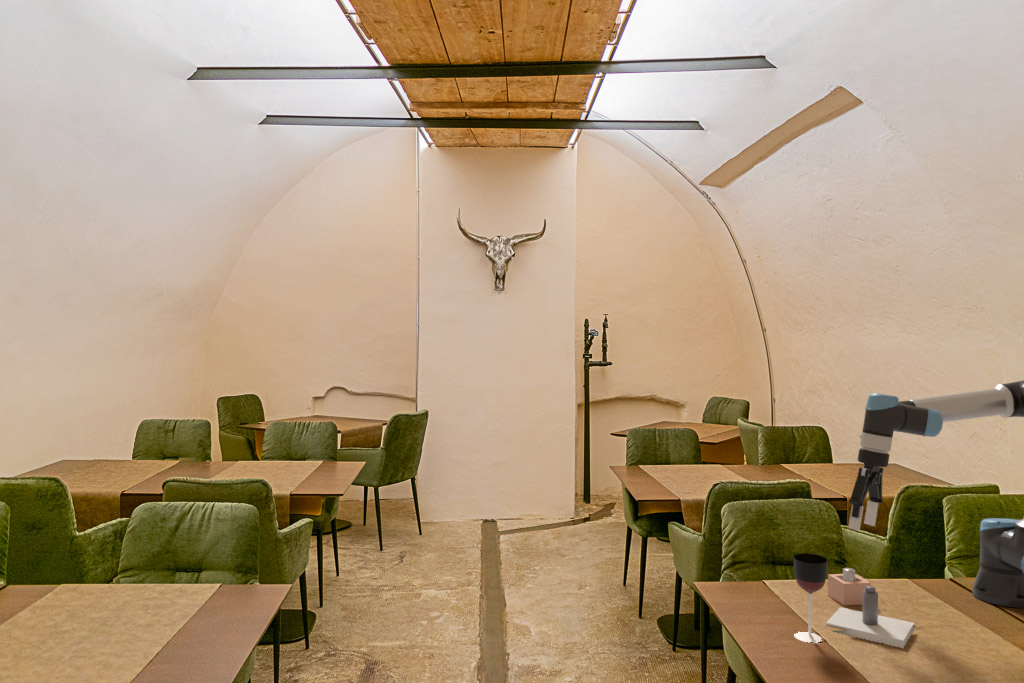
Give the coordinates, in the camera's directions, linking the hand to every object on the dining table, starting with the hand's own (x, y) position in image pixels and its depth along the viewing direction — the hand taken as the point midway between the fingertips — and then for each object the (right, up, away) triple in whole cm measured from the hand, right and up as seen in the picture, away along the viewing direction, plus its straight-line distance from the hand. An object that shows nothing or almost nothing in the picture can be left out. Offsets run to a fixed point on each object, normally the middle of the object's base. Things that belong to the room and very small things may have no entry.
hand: (861, 527), depth 204 cm
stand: (0, -24, +8) cm, 25 cm away
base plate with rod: (-3, -24, -10) cm, 26 cm away
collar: (0, -22, +8) cm, 24 cm away
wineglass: (-20, -24, -15) cm, 35 cm away
